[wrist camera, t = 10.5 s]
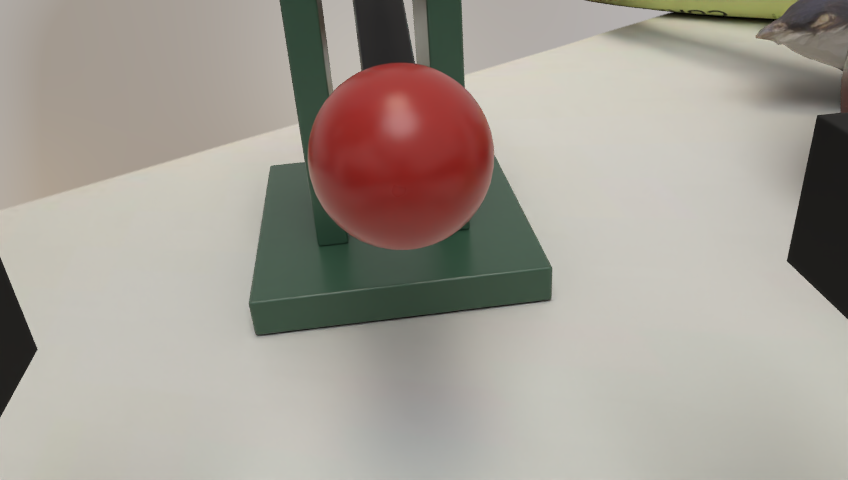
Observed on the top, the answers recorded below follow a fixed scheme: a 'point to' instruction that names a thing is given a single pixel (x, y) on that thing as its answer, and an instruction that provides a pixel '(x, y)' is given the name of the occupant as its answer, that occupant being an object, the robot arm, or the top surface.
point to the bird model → (813, 30)
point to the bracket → (369, 265)
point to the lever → (398, 142)
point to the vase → (844, 87)
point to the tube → (712, 7)
